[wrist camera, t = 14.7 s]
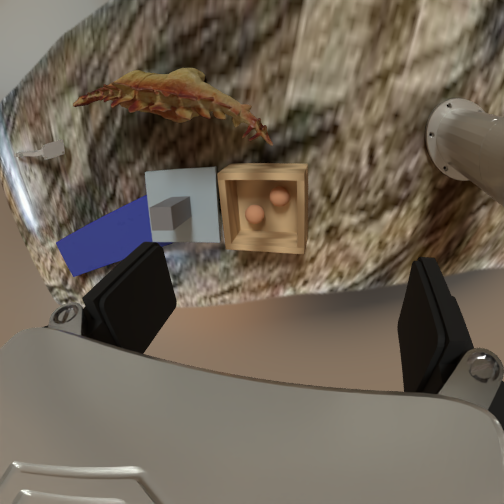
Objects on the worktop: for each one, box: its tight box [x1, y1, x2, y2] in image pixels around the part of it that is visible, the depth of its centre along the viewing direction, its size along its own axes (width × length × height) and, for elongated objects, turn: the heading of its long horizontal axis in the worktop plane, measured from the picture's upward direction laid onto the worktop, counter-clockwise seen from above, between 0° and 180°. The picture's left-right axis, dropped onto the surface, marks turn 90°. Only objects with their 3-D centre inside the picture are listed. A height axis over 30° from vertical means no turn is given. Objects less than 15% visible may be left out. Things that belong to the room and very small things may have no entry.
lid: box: [145, 167, 221, 243], centre depth 45 cm, size 12×12×9 cm
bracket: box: [14, 139, 65, 160], centre depth 52 cm, size 3×21×10 cm, turn 90°
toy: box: [73, 68, 273, 146], centre depth 36 cm, size 9×32×15 cm, turn 74°
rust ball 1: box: [245, 205, 264, 224], centre depth 46 cm, size 3×3×3 cm
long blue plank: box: [56, 195, 173, 277], centre depth 59 cm, size 34×3×10 cm
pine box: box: [217, 163, 308, 254], centre depth 45 cm, size 12×12×6 cm
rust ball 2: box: [270, 186, 290, 207], centre depth 44 cm, size 3×3×3 cm
